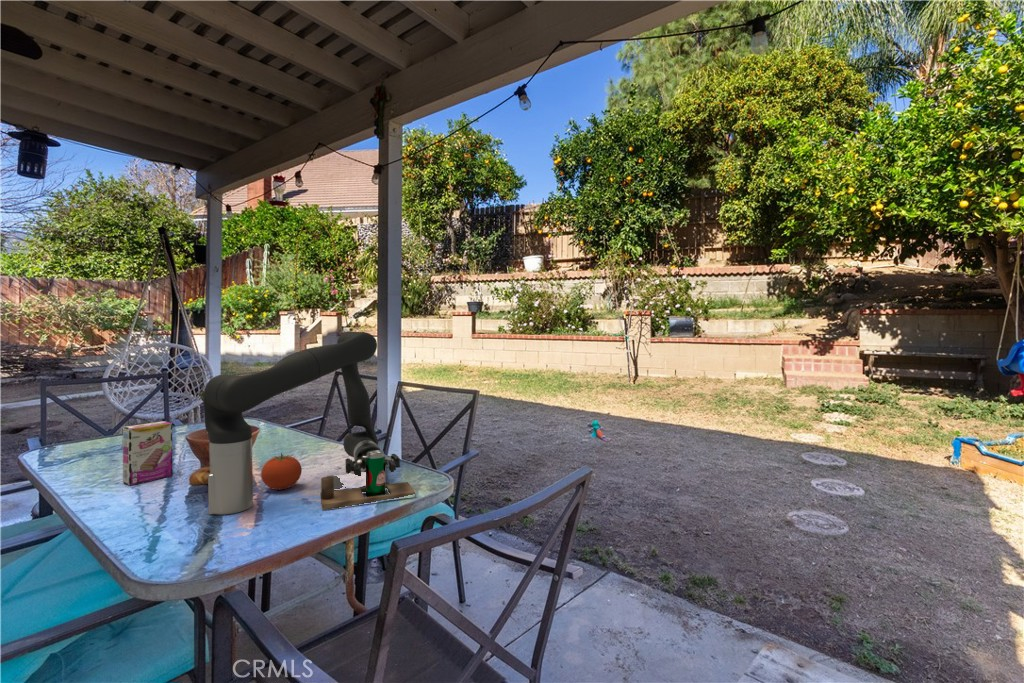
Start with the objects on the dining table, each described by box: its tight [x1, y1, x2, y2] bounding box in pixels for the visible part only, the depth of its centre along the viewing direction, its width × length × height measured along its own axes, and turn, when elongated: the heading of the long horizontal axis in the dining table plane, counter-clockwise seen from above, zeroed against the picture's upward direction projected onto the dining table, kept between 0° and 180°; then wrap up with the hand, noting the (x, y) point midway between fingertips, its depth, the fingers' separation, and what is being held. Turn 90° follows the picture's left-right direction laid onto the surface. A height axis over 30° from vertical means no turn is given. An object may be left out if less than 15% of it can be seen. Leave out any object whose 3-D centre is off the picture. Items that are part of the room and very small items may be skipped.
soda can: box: [365, 449, 387, 497], centre depth 130 cm, size 5×5×12 cm
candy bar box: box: [121, 420, 173, 486], centre depth 144 cm, size 11×5×16 cm, turn 149°
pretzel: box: [188, 466, 210, 486], centre depth 145 cm, size 12×11×4 cm
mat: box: [326, 474, 346, 489], centre depth 143 cm, size 12×13×1 cm
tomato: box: [260, 452, 303, 491], centre depth 137 cm, size 10×10×10 cm
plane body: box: [319, 476, 416, 511], centre depth 130 cm, size 23×9×6 cm, turn 114°
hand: (376, 470), depth 129 cm, fingers open, 8 cm apart
